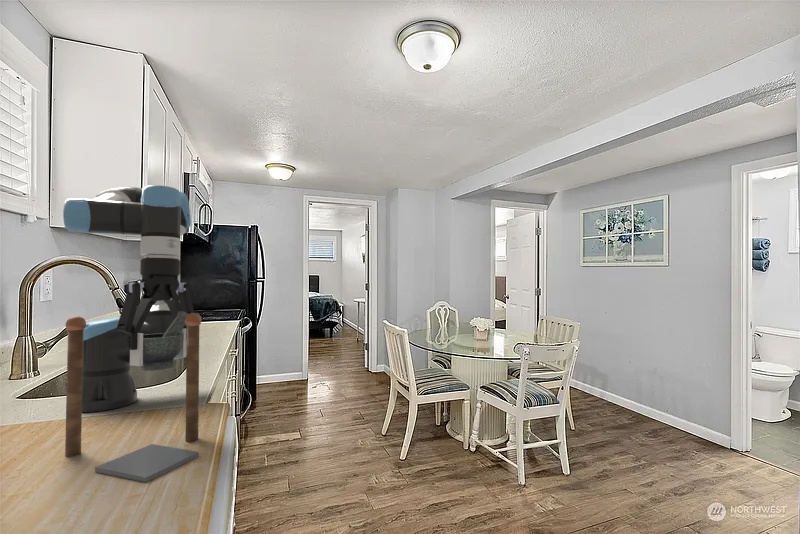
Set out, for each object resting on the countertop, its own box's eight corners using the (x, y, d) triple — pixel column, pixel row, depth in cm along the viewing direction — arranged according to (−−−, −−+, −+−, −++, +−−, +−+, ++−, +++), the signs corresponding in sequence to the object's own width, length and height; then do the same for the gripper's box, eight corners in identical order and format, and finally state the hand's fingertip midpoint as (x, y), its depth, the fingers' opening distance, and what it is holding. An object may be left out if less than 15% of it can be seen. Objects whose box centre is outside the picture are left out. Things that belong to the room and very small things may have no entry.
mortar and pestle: (130, 374, 83) (131, 314, 84) (130, 366, 91) (131, 311, 92) (193, 367, 89) (193, 311, 90) (188, 361, 97) (188, 309, 98)
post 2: (192, 436, 89) (193, 312, 90) (203, 438, 88) (205, 312, 89) (179, 441, 86) (181, 313, 87) (191, 443, 85) (193, 313, 86)
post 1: (76, 449, 82) (79, 315, 83) (87, 451, 81) (90, 315, 82) (58, 456, 79) (61, 316, 80) (69, 458, 78) (72, 316, 79)
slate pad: (151, 448, 83) (151, 444, 83) (198, 456, 79) (198, 451, 79) (95, 471, 73) (95, 467, 73) (145, 482, 68) (145, 477, 68)
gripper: (122, 253, 79) (120, 372, 78) (213, 260, 100) (213, 353, 99) (95, 255, 82) (93, 370, 81) (190, 261, 103) (189, 352, 102)
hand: (159, 361), depth 90 cm, fingers closed on mortar and pestle, 10 cm apart
